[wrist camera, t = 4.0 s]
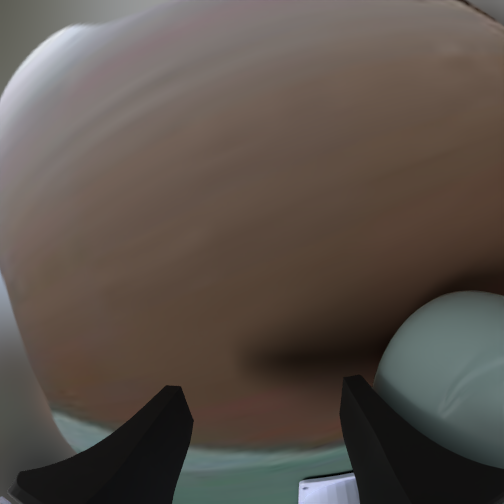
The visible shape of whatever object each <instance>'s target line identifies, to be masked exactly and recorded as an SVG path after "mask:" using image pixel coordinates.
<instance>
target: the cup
mask: <svg viewBox="0 0 504 504" xmlns="http://www.w3.org/2000/svg"><path fill="white" fill-rule="evenodd" d="M372 388H373V389H374V391H375V392H376V393H377V394H378V395H379V396H380V397H381V398H382V399H383V400H384V401H385V402H386V403H387V404H388V405H389V406H390V407H391V408H392V409H393V410H394V411H395V412H396V413H397V414H399V415H400V416H401V417H402V418H403V419H404V420H405V421H407V422H408V423H409V424H410V425H412V426H413V427H414V428H415V429H417V430H418V431H419V432H421V433H422V434H423V435H425V436H426V437H428V438H429V439H431V440H432V441H434V442H436V443H437V444H439V445H441V446H442V447H444V448H446V449H448V450H450V451H452V452H454V453H456V454H458V455H461V456H463V457H465V458H467V459H470V460H473V461H476V462H478V463H481V464H485V465H489V466H493V467H497V468H502V469H504V295H499V294H494V293H490V292H483V291H474V290H470V291H457V292H452V293H448V294H443V295H441V296H439V297H437V298H435V299H433V300H431V301H429V302H427V303H425V304H424V305H422V306H421V307H420V308H418V309H417V310H416V311H415V312H414V313H413V314H412V315H410V316H409V317H408V318H407V319H406V320H405V321H404V323H403V324H402V325H401V326H400V327H399V328H398V330H397V331H396V333H395V334H394V335H393V337H392V338H391V340H390V342H389V344H388V345H387V347H386V349H385V351H384V353H383V355H382V357H381V360H380V362H379V365H378V368H377V371H376V373H375V376H374V380H373V385H372ZM503 504H504V503H503Z"/></svg>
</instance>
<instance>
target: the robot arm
mask: <svg viewBox="0 0 504 504" xmlns="http://www.w3.org/2000/svg"><path fill="white" fill-rule="evenodd" d="M340 420H341V426H342V432H343V437H344V441H345V444H346V448H347V451H348V455H349V458H350V462H351V465H352V468H353V473H348V474H343V475H337V476H331V477H324V478H316V479H307V480H302V481H300V482H299V502H298V504H503V503H504V469H502V468H497V467H493V466H489V465H485V464H481V463H478V462H476V461H473V460H470V459H467V458H465V457H463V456H461V455H458V454H456V453H454V452H452V451H450V450H448V449H446V448H444V447H442V446H441V445H439V444H437V443H436V442H434V441H432V440H431V439H429V438H428V437H426V436H425V435H423V434H422V433H421V432H419V431H418V430H417V429H415V428H414V427H413V426H412V425H410V424H409V423H408V422H407V421H405V420H404V419H403V418H402V417H401V416H400V415H399V414H397V413H396V412H395V411H394V410H393V409H392V408H391V407H390V406H389V405H388V404H387V403H386V402H385V401H384V400H383V399H382V398H381V397H380V396H379V395H378V394H377V393H376V392H375V391H374V389H373V388H372V387H371V386H370V385H369V384H368V383H367V382H366V381H365V379H364V378H363V377H362V376H361V375H355V376H350V377H343V388H342V397H341V406H340ZM193 422H194V420H193V418H192V415H191V413H190V410H189V407H188V405H187V402H186V399H185V396H184V394H183V391H182V388H181V386H168V385H166V386H165V387H164V388H163V389H162V390H161V391H160V392H159V393H158V394H157V395H156V396H154V397H153V398H152V399H151V400H150V401H149V402H148V403H147V404H146V405H145V406H144V407H143V408H142V409H141V410H140V411H138V412H137V413H136V414H135V415H134V416H133V417H132V418H131V419H130V420H128V421H127V422H126V423H125V424H123V425H122V426H121V427H120V428H118V429H117V430H116V431H115V432H113V433H112V434H111V435H109V436H108V437H106V438H105V439H103V440H102V441H100V442H99V443H97V444H96V445H94V446H92V447H91V448H89V449H87V450H85V451H83V452H81V453H79V454H77V455H75V456H73V457H71V458H68V459H66V460H63V461H61V462H58V463H55V464H52V465H49V466H45V467H42V468H37V469H32V470H27V471H21V472H20V473H19V474H18V476H17V477H16V479H15V480H14V482H13V483H12V485H11V486H10V488H9V489H8V491H7V493H8V495H9V496H11V497H12V498H13V499H14V500H15V501H16V502H18V503H19V504H172V500H173V495H174V491H175V487H176V484H177V481H178V478H179V475H180V472H181V469H182V466H183V463H184V460H185V457H186V454H187V450H188V447H189V444H190V440H191V434H192V428H193ZM0 504H11V503H10V502H9V501H8V500H7V499H5V498H4V497H3V496H1V498H0Z"/></svg>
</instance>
